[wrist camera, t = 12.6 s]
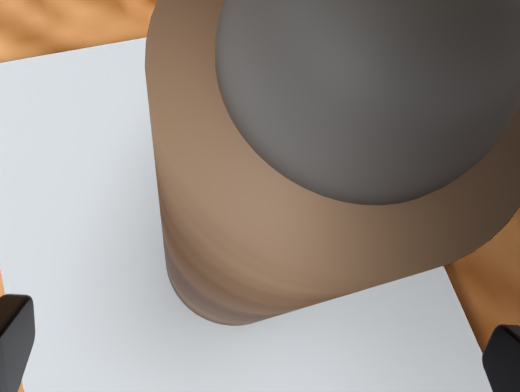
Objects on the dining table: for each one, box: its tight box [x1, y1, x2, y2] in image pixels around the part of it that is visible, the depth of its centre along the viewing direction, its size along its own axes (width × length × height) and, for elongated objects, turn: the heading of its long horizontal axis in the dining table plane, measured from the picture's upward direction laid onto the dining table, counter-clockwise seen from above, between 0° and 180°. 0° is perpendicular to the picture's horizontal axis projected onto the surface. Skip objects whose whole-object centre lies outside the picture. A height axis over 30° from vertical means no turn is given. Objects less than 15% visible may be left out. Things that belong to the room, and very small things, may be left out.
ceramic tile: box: [0, 37, 493, 392], centre depth 18 cm, size 20×16×1 cm
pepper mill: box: [145, 0, 520, 326], centre depth 11 cm, size 5×5×14 cm
